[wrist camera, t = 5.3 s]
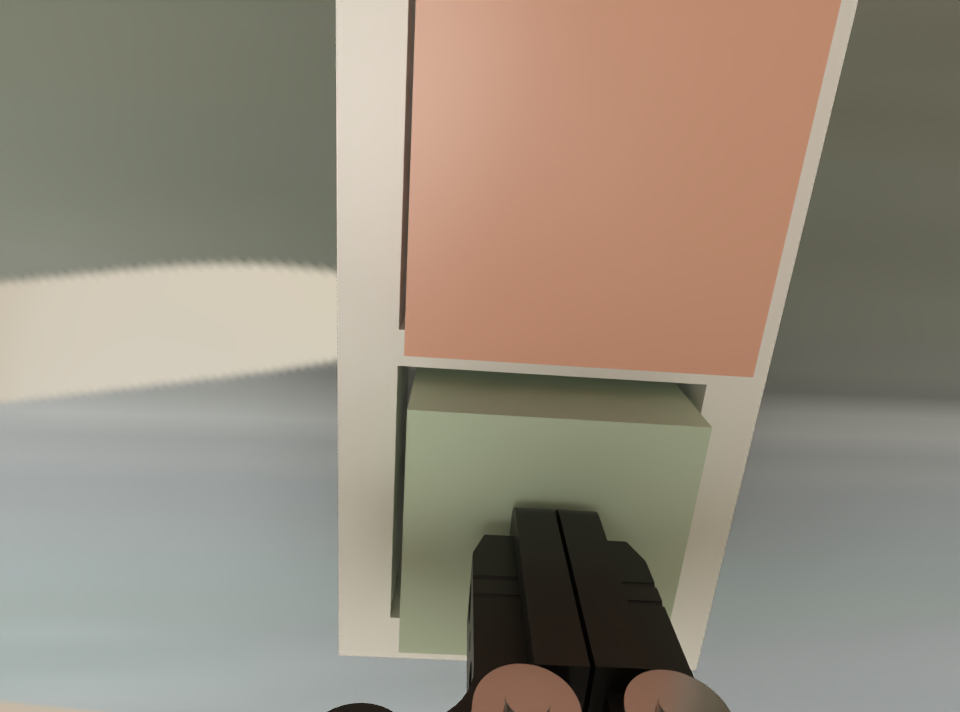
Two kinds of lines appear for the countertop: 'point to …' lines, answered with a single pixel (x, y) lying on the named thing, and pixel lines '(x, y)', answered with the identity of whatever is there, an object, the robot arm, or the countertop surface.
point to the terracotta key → (606, 177)
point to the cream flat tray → (389, 374)
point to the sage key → (537, 478)
